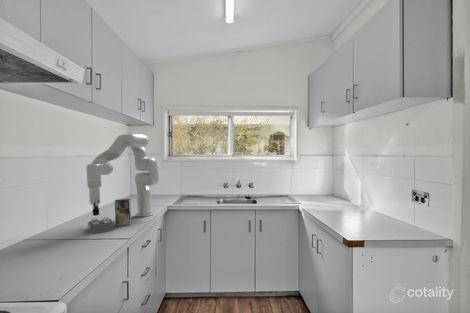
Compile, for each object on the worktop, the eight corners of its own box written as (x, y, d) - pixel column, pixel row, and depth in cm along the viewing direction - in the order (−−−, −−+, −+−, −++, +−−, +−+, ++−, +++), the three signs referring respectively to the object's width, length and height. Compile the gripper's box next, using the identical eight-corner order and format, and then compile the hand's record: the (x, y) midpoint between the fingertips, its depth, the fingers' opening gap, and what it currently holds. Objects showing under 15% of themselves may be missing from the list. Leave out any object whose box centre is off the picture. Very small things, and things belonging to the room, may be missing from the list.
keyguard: (88, 229, 193) (87, 221, 192) (110, 225, 199) (110, 218, 199) (90, 233, 181) (90, 225, 181) (114, 230, 188) (113, 222, 188)
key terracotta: (92, 228, 187) (92, 222, 187) (98, 227, 189) (98, 222, 189) (93, 229, 184) (92, 224, 184) (99, 229, 186) (99, 223, 185)
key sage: (103, 227, 190) (103, 221, 190) (109, 226, 192) (109, 220, 192) (104, 228, 187) (104, 222, 187) (110, 227, 189) (110, 221, 189)
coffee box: (131, 222, 207) (130, 198, 207) (130, 224, 201) (129, 200, 200) (117, 223, 205) (116, 199, 205) (115, 226, 199) (114, 200, 199)
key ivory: (101, 223, 195) (101, 217, 195) (107, 222, 197) (107, 216, 197) (102, 224, 192) (102, 218, 192) (108, 223, 194) (108, 217, 194)
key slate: (91, 224, 192) (90, 219, 192) (97, 223, 194) (97, 218, 194) (91, 225, 189) (91, 220, 189) (98, 225, 191) (98, 219, 191)
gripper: (86, 184, 190) (87, 213, 191) (88, 186, 177) (90, 218, 178) (99, 182, 194) (101, 212, 195) (103, 185, 181) (104, 216, 182)
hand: (96, 215), depth 186 cm, fingers closed
